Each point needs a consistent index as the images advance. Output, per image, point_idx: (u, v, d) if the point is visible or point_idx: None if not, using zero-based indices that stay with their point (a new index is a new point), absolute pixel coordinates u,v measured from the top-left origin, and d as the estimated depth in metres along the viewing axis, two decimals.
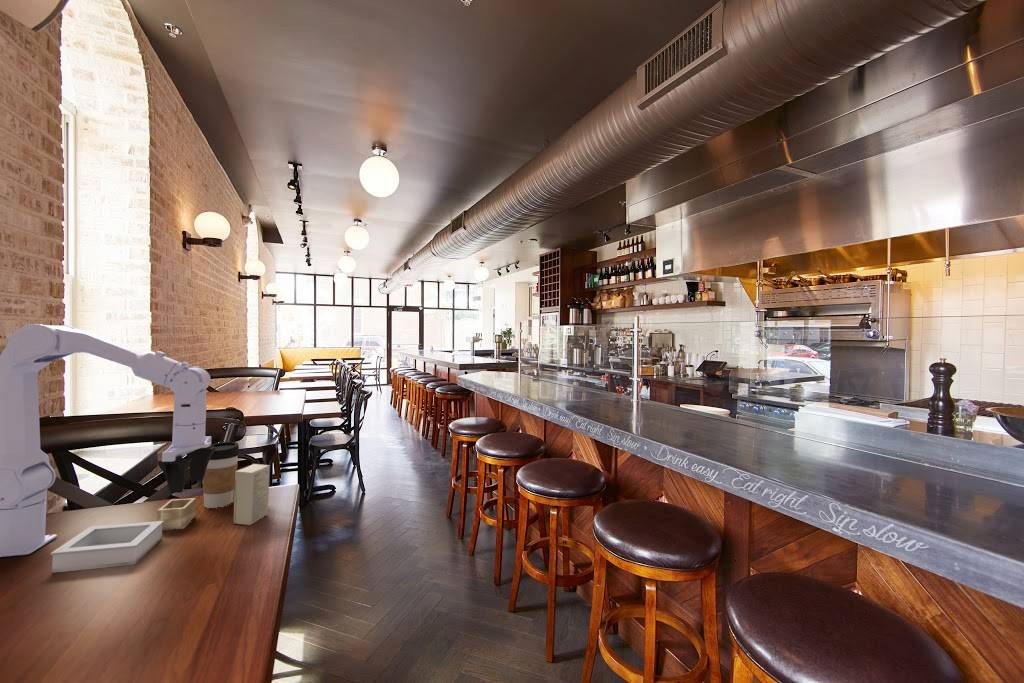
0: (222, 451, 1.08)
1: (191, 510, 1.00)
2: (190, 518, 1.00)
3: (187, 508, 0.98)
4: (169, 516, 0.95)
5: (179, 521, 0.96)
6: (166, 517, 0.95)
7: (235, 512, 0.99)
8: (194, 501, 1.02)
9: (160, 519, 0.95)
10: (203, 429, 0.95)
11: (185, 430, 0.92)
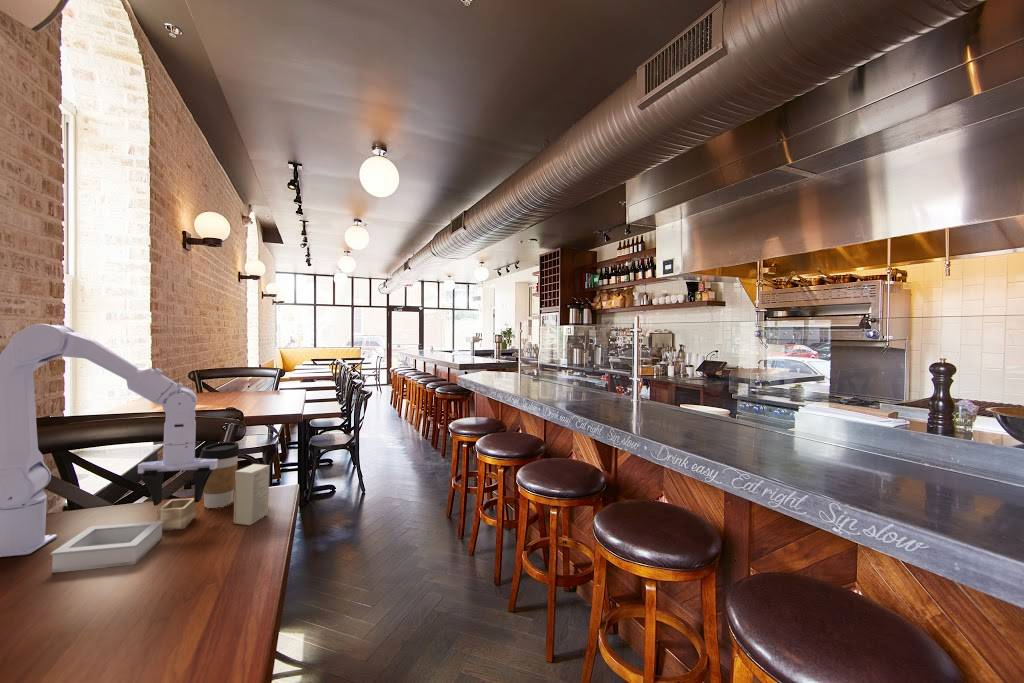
0: (222, 451, 1.08)
1: (191, 510, 1.00)
2: (190, 518, 1.00)
3: (187, 508, 0.98)
4: (169, 516, 0.95)
5: (179, 521, 0.96)
6: (166, 517, 0.95)
7: (235, 512, 0.99)
8: None
9: (160, 519, 0.95)
10: (173, 451, 0.96)
11: (163, 447, 0.97)
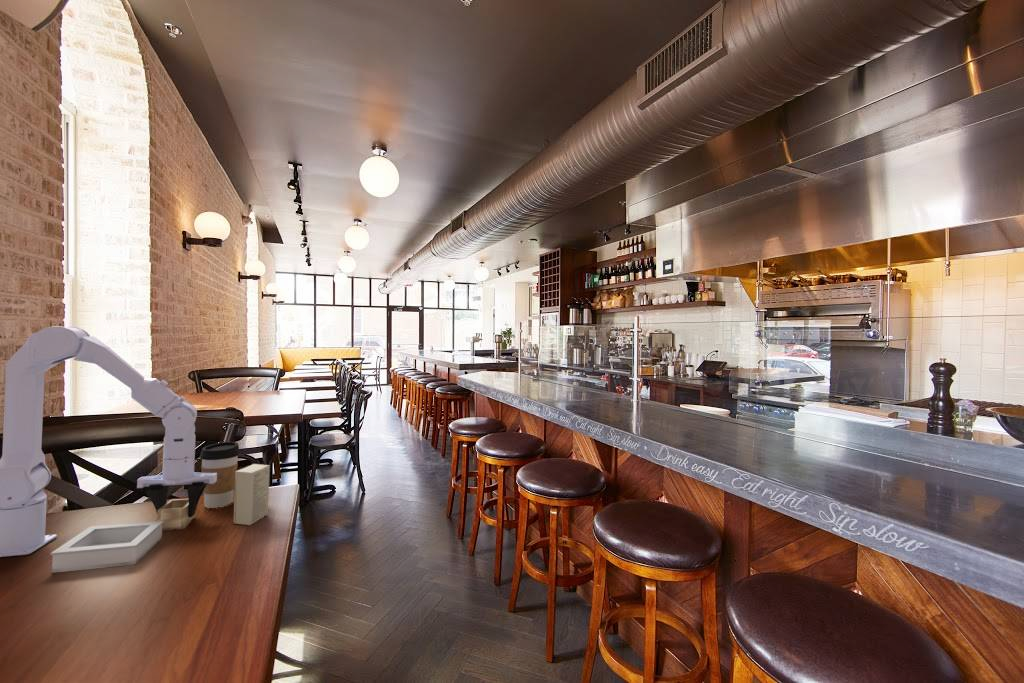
0: (222, 451, 1.08)
1: None
2: (190, 518, 1.00)
3: (187, 508, 0.98)
4: (169, 516, 0.95)
5: (179, 521, 0.96)
6: (166, 517, 0.95)
7: (235, 512, 0.99)
8: None
9: (160, 519, 0.95)
10: (173, 465, 0.96)
11: (163, 462, 0.97)
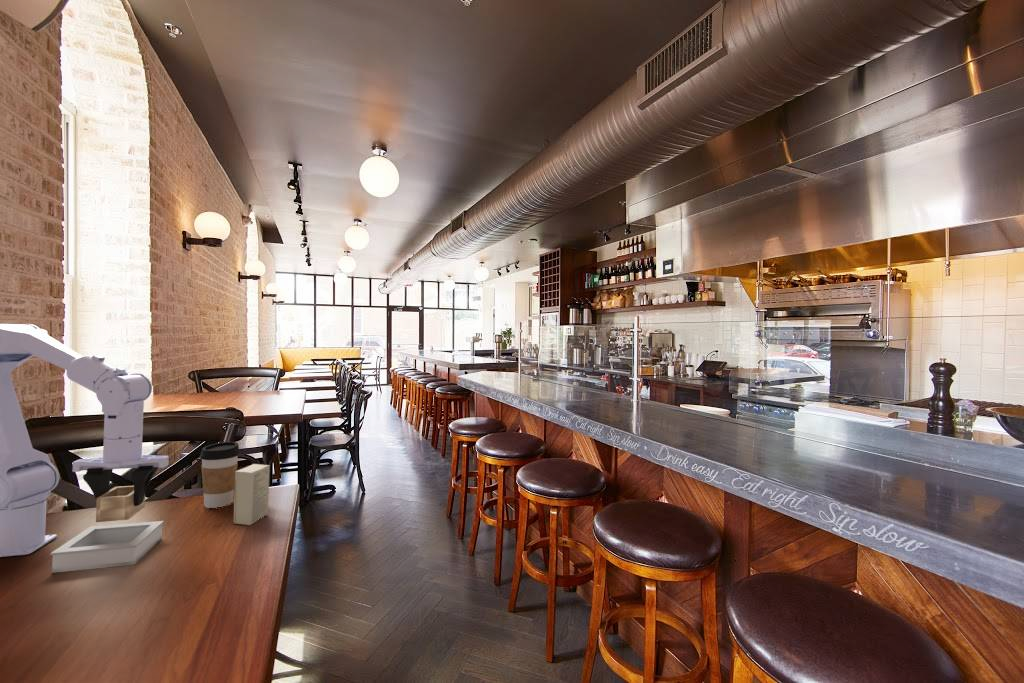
0: (222, 451, 1.08)
1: None
2: (137, 507, 0.87)
3: (133, 496, 0.85)
4: (110, 505, 0.83)
5: (122, 511, 0.83)
6: (107, 506, 0.83)
7: (235, 512, 0.99)
8: None
9: (100, 509, 0.82)
10: (115, 446, 0.83)
11: None
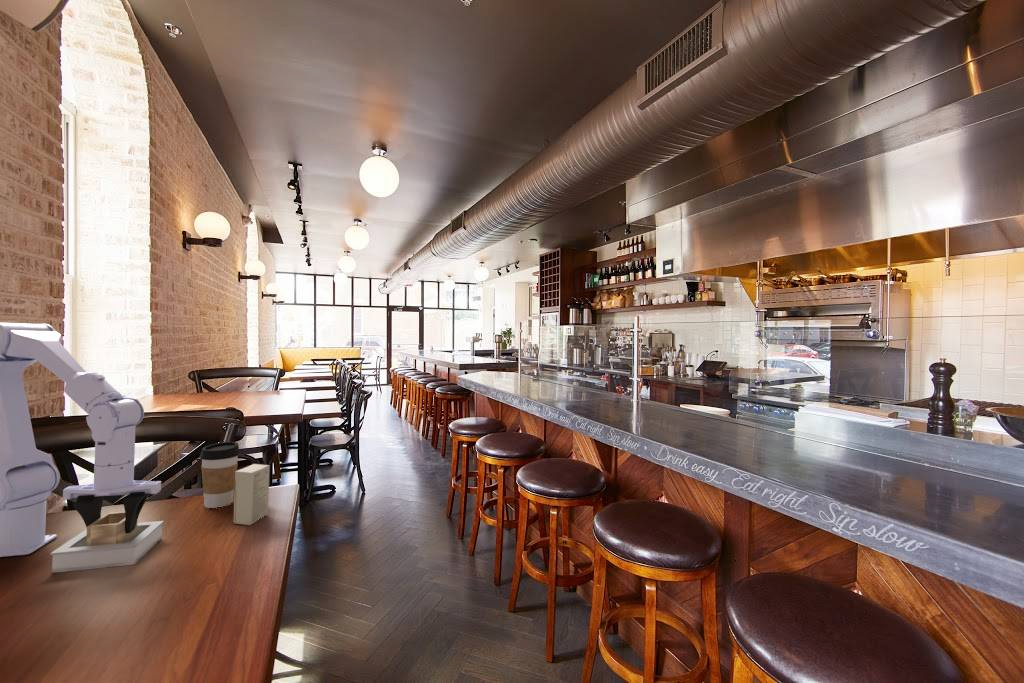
0: (222, 451, 1.08)
1: None
2: (129, 534, 0.86)
3: (124, 523, 0.84)
4: (101, 533, 0.81)
5: (113, 539, 0.82)
6: (97, 535, 0.81)
7: (235, 512, 0.99)
8: None
9: (90, 537, 0.81)
10: (105, 473, 0.82)
11: None
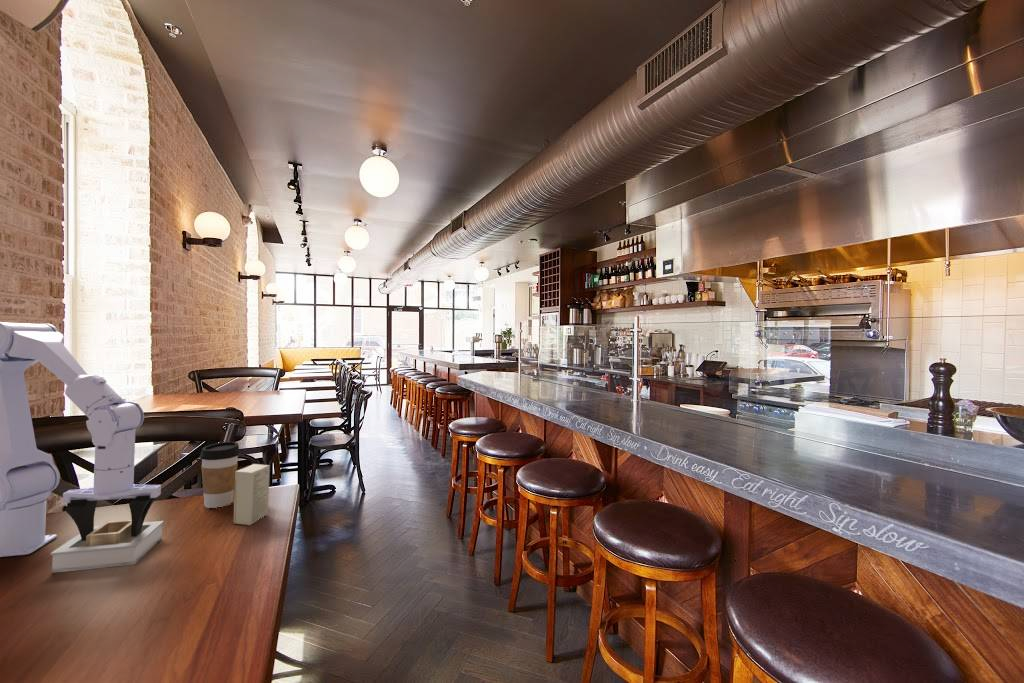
0: (222, 451, 1.08)
1: (130, 534, 0.86)
2: None
3: (123, 532, 0.84)
4: (100, 542, 0.81)
5: None
6: (97, 544, 0.81)
7: (235, 512, 0.99)
8: None
9: None
10: (105, 477, 0.82)
11: None
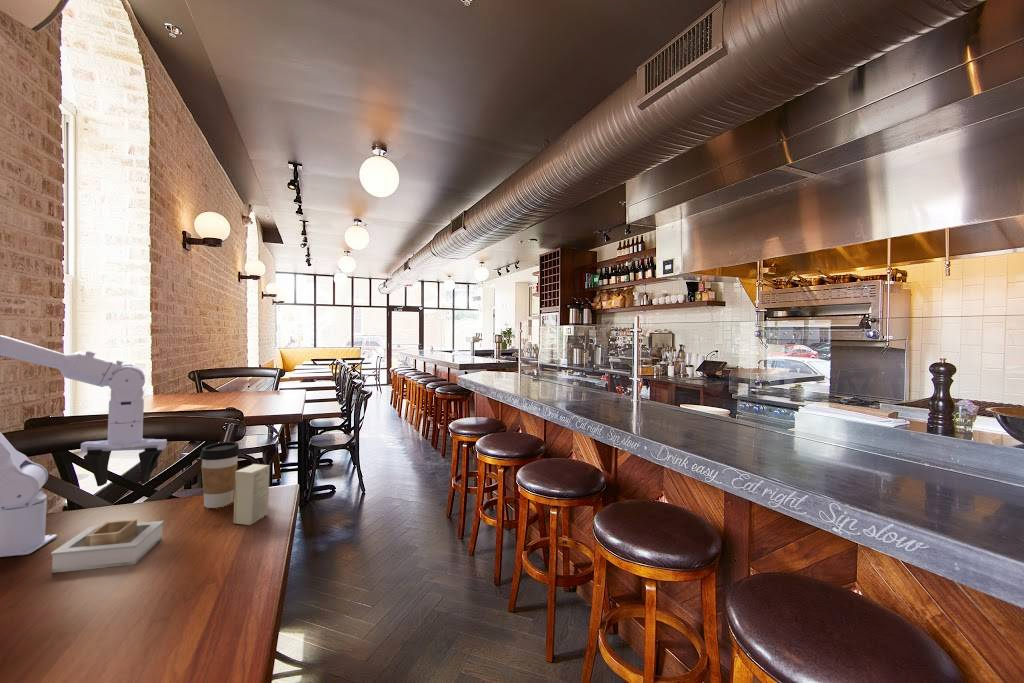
0: (222, 451, 1.08)
1: (130, 534, 0.86)
2: None
3: (123, 532, 0.84)
4: (100, 542, 0.81)
5: None
6: (97, 544, 0.81)
7: (235, 512, 0.99)
8: (134, 523, 0.88)
9: None
10: (118, 429, 0.92)
11: None
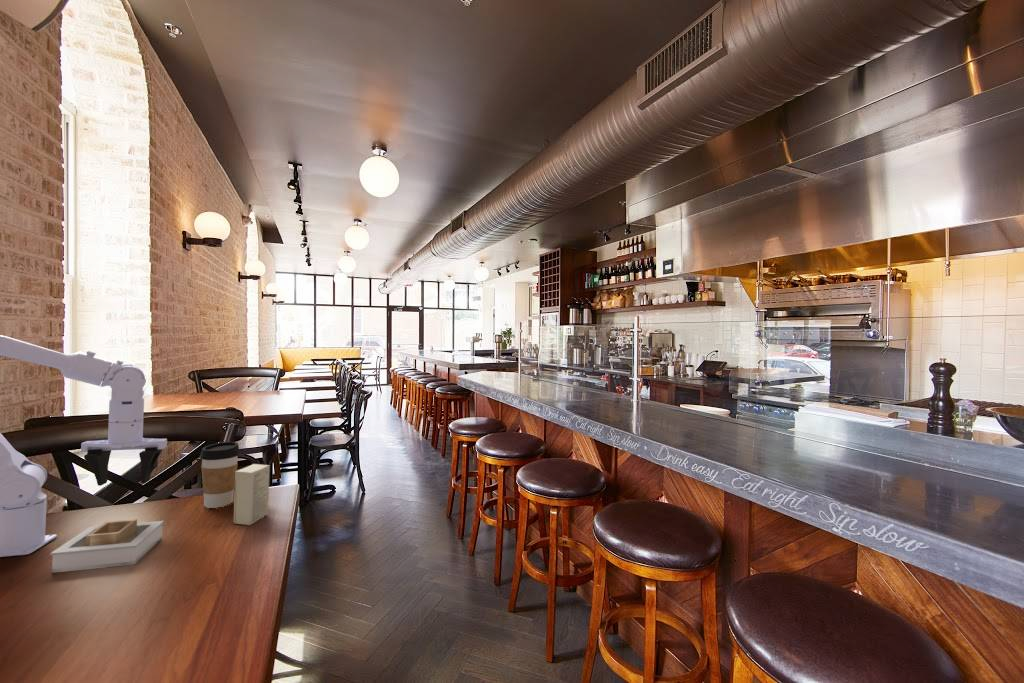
0: (222, 451, 1.08)
1: (130, 534, 0.86)
2: None
3: (123, 532, 0.84)
4: (100, 542, 0.81)
5: None
6: (97, 544, 0.81)
7: (235, 512, 0.99)
8: (134, 523, 0.88)
9: None
10: (118, 429, 0.93)
11: None
